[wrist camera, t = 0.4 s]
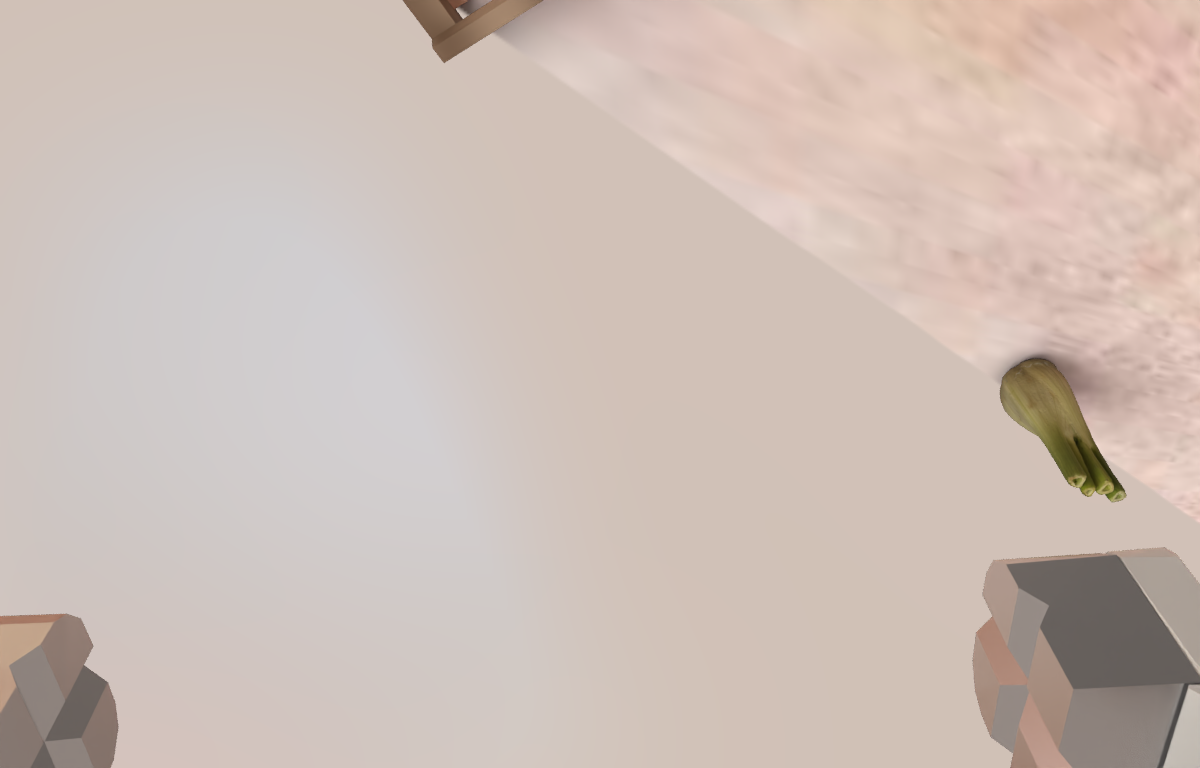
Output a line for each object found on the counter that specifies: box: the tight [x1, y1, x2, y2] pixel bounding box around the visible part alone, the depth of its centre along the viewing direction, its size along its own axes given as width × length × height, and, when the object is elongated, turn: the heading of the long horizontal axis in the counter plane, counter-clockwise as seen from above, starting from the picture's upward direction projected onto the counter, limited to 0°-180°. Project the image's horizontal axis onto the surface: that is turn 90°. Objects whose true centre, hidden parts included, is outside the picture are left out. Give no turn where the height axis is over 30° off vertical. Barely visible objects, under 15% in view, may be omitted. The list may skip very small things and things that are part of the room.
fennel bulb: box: [1000, 359, 1126, 502], centre depth 80 cm, size 6×5×12 cm
